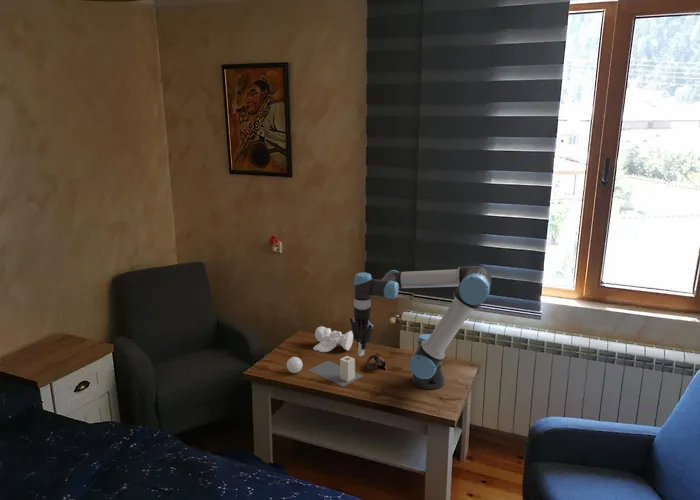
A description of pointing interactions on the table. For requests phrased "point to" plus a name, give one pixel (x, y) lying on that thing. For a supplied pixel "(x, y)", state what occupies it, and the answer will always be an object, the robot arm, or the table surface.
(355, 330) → the robot arm
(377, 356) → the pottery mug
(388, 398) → the table surface
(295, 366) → the geometric ball
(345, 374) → the cream block
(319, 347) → the cherub figurine
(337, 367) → the grey mat
